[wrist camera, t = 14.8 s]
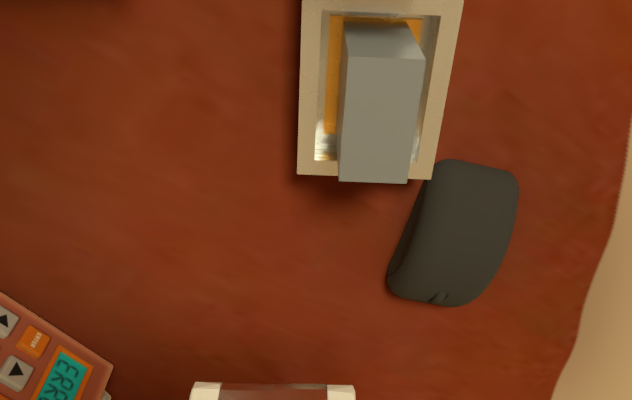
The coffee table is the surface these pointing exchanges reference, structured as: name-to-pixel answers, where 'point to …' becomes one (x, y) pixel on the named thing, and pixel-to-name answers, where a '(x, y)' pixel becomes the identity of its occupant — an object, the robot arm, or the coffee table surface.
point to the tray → (324, 68)
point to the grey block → (377, 101)
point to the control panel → (45, 360)
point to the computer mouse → (455, 234)
